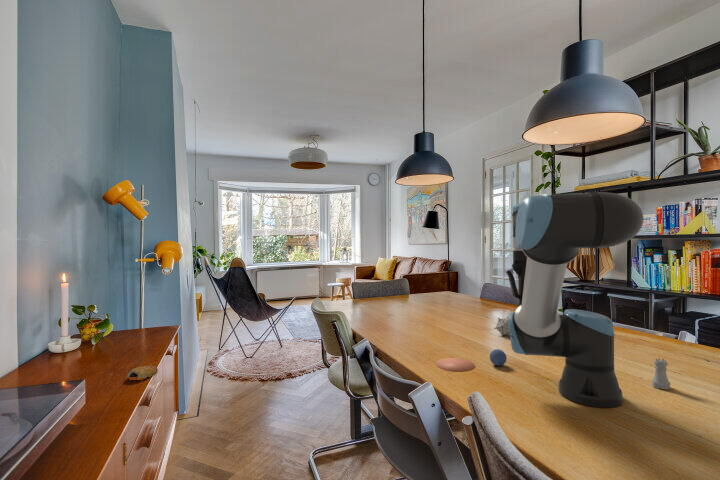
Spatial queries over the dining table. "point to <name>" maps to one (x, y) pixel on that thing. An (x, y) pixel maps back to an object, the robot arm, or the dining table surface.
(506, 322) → the game die
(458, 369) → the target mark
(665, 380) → the rook chess piece
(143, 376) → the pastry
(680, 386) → the dining table surface
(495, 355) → the ball
